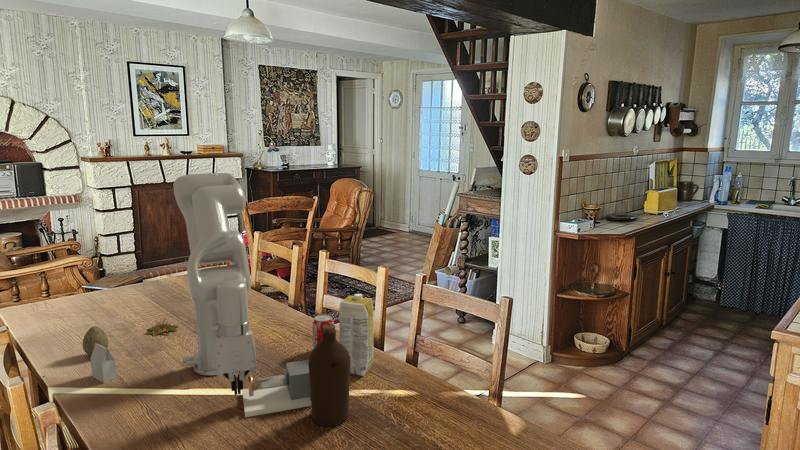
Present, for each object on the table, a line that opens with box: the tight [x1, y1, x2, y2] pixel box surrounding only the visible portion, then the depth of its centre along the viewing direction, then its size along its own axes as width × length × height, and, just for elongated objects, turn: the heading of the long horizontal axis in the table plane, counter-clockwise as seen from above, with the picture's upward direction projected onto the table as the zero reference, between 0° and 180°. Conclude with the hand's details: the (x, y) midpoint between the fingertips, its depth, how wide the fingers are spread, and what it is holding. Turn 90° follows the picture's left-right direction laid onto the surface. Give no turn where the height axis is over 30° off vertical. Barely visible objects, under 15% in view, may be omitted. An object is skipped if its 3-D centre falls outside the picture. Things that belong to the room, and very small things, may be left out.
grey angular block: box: [90, 343, 118, 384], centre depth 153 cm, size 4×7×10 cm, turn 55°
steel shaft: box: [247, 374, 289, 397], centre depth 141 cm, size 14×6×6 cm, turn 110°
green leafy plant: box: [144, 318, 179, 337], centre depth 188 cm, size 12×12×5 cm
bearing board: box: [241, 359, 312, 418], centre depth 143 cm, size 27×12×9 cm, turn 110°
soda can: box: [312, 313, 335, 350], centre depth 171 cm, size 7×7×12 cm
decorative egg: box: [82, 326, 109, 357], centre depth 167 cm, size 7×7×10 cm
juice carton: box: [338, 293, 374, 377], centre depth 158 cm, size 9×8×24 cm
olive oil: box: [308, 324, 351, 427], centre depth 132 cm, size 11×11×25 cm
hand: (237, 392), depth 138 cm, fingers closed
